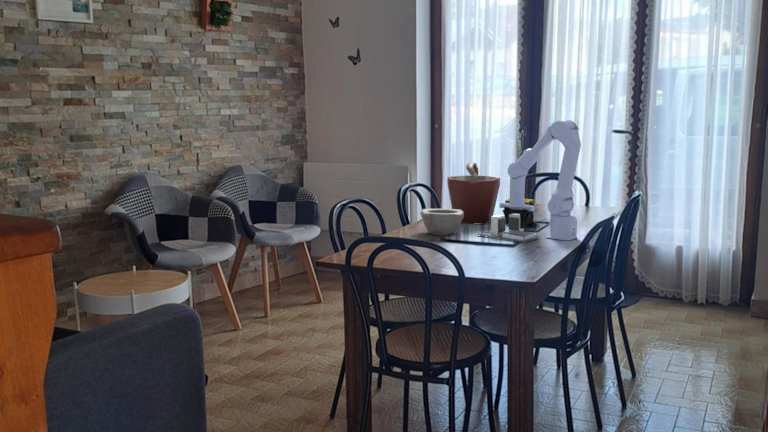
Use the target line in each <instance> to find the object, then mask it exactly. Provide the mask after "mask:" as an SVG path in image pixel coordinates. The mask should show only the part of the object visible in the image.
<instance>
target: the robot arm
mask: <svg viewBox="0 0 768 432" xmlns="http://www.w3.org/2000/svg"><path fill="white" fill-rule="evenodd" d="M579 130H580V128H579V126H578V125H577V123H575V122H574V121H573V120H570V119H568V120H556V121H554V122H552V123H551V125H550V126H548V127H547V129H546V130H545V132H544V133H543V135H542V136H541V137H540V138H539V140H537V142H536V143H535V144H534V145H533V147H532V148H527V149H524V150H523V151H522V155H520V157H518V158H517V159H516V160H515V162H512V163H509V165H508V167H507V175H508V176H509V177H510V178H509V199H510V203H505V202H499V209H502V213H503V215H505V217H506V220H507V227H508V228H509V214H512V213H513V212H514V209H518V210H522V211H519V213H520V227H521V229H523V228H524V229H526V228H525V227H526V225H525V224H526V221H527V218H528V216H529V214H530V213H531V211H533V212H534V211H535V205H534V206H531V205H526V204H524V199H525V192H526V191H525V189H526V188H525V187H526V186H525V185H526V177H527V175H528V173H529V170H530V169H531V168H532V167H533V166H534V165H535V163H537V161H539V158H540V154H541V152H543V151H544V150H545V149H546V148H547V147H548V146H549V145H550V144H551V143H552V142H553V141H556V140H557V141H559V142H560V143H561V144H562V146H563V147H564V152H563V156H562V161H561V165H560V170H559V175H558V179H557V183H556V188H555V190H554V191H553V193H552V195H551V197H550V199H549V201H548V202H547V209H548V212H549V213H550V220H549V221H550V225H549V227H550V228H549V235H546V236H545V238H546V239H553V240H561V241H572V240H574V239H577V238H578V236H577V235H578V230H577V229H578V219H577V217H576V216H574V215H573V216H572V215H571V211H572V210H573V209H574V207H575V206H574V205H575V202H574V193H573V192H572V190H573V189H572V188H573V184H574V179H575V175H576V170H577V165H578V160H579V156H580V151H581V148H582V142H581V138H580V133H579ZM513 207H514V208H513Z"/></svg>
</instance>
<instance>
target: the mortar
mask: <svg viewBox="0 0 768 432" xmlns="http://www.w3.org/2000/svg"><path fill="white" fill-rule="evenodd" d="M420 215H421V219H422V222H423V224H424V227H425V228H426V230H427V232H428V233H429V234H431V235H435V236H450V235H453V234H454V233H455V232H456V231H457V230H458V229H459V226H460V225H461V224H462V223H461V221H462V220H463V218H464V212H463V211H462V210H460V209H452V208H423V209H422V210H421V211H420Z"/></svg>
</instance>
